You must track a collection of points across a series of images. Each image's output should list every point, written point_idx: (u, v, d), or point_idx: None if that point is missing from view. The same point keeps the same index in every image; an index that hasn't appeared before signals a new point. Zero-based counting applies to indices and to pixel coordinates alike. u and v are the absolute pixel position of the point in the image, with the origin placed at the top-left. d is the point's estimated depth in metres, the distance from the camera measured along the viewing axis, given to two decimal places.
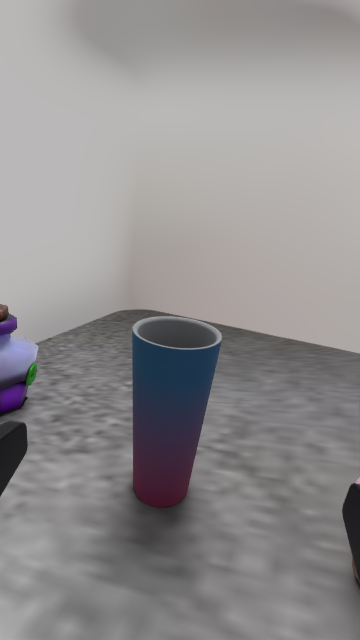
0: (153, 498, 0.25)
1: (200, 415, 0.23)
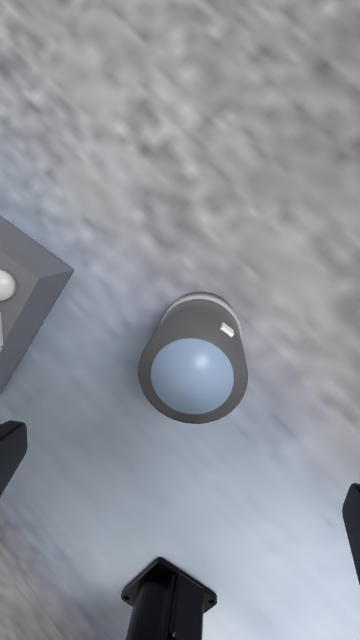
0: None
1: None
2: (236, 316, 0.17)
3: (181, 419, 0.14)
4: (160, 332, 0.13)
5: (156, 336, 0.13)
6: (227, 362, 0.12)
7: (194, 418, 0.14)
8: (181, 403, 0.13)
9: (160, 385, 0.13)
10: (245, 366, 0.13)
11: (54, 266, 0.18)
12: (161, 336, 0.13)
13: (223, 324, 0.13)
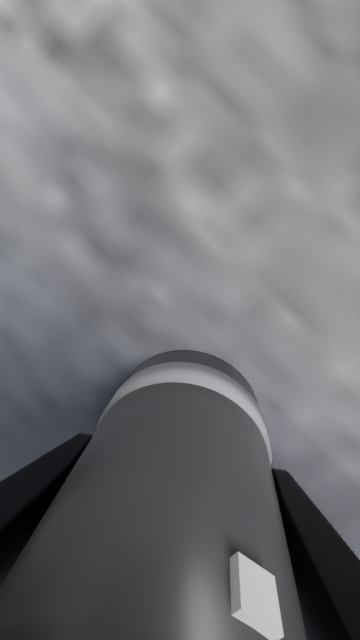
0: None
1: None
2: (259, 415, 0.08)
3: None
4: (2, 620, 0.03)
5: None
6: None
7: None
8: None
9: None
10: None
11: None
12: None
13: (241, 576, 0.04)
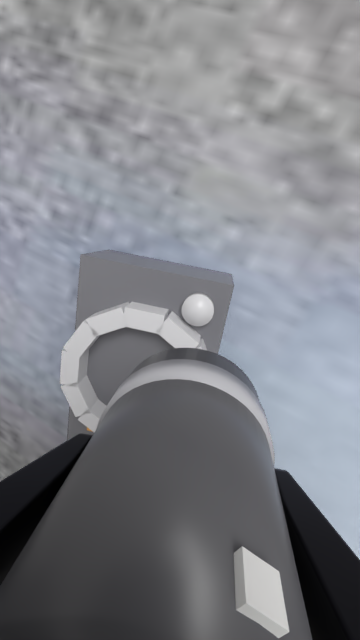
0: None
1: None
2: (262, 412, 0.08)
3: None
4: (5, 616, 0.03)
5: None
6: None
7: None
8: None
9: None
10: None
11: (222, 275, 0.17)
12: (6, 637, 0.03)
13: (246, 571, 0.04)
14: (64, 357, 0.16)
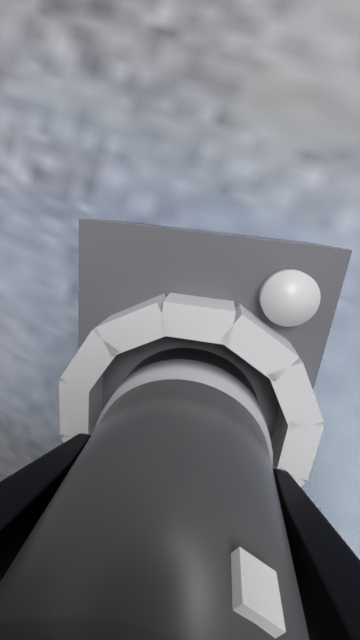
0: None
1: None
2: (260, 413, 0.08)
3: None
4: (2, 616, 0.03)
5: None
6: None
7: None
8: None
9: None
10: None
11: None
12: (2, 637, 0.03)
13: (243, 571, 0.04)
14: (64, 393, 0.10)
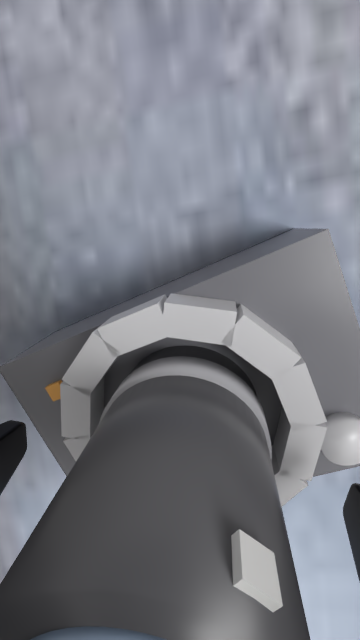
0: None
1: None
2: (259, 408, 0.08)
3: None
4: (17, 591, 0.04)
5: (1, 608, 0.04)
6: None
7: None
8: None
9: None
10: None
11: None
12: (18, 611, 0.03)
13: (242, 551, 0.04)
14: (148, 313, 0.08)
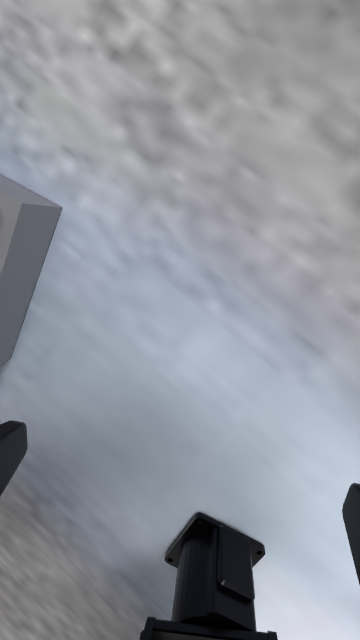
0: None
1: None
2: None
3: None
4: None
5: None
6: None
7: None
8: None
9: None
10: None
11: (39, 200, 0.17)
12: None
13: None
14: None
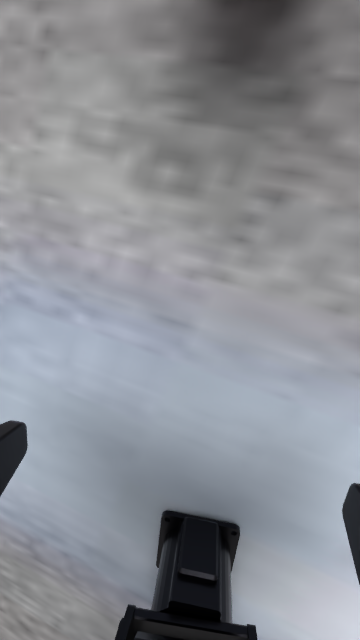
0: None
1: None
2: None
3: None
4: None
5: None
6: None
7: None
8: None
9: None
10: None
11: None
12: None
13: None
14: None
